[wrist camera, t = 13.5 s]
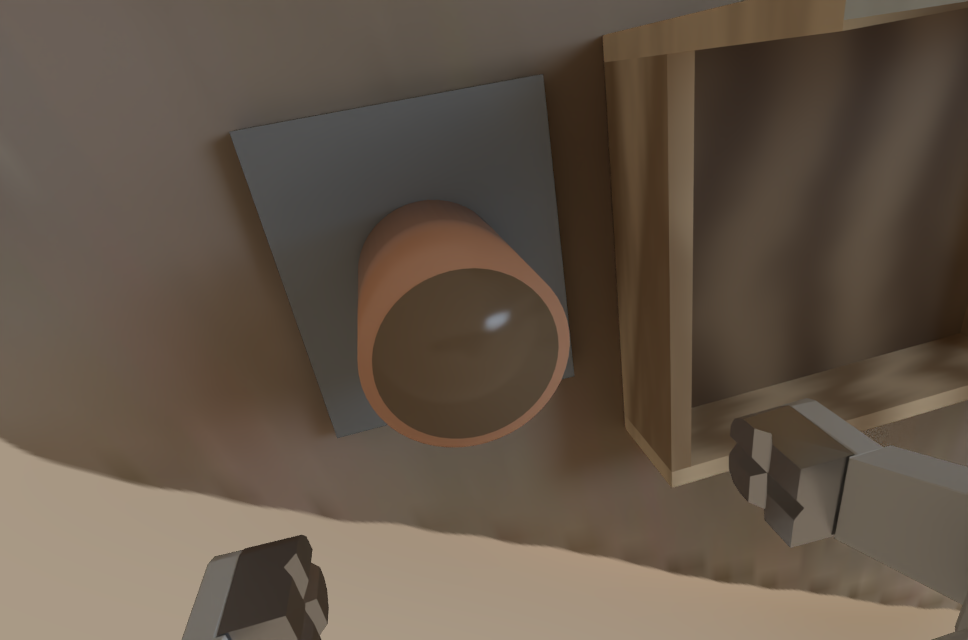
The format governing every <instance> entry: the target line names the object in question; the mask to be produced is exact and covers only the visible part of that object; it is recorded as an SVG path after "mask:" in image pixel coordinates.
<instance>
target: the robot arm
mask: <svg viewBox="0 0 968 640" xmlns="http://www.w3.org/2000/svg"><path fill="white" fill-rule="evenodd" d="M730 437H731V438H732V439H733V440H734V441H735V442H736V445H735V446H734V448H733V449H732V451H731V452H730V453H729V470H730V474H731V477H732V480H733V482H734V484H735V486H736V487H737V489H738V491H739V492H740V493H741V495H742V496H743V497H744V498H745V499H746V500H747V501H748V502H749V503H751V504H754V505H756V506H758V507H761V508H763V509H764V519H765V521H766V522H767V523H768V524H769V525H770V526H771V527H772V529H773V530H774V531H775V532H776V533H777V534H778V535H779V536H780V537H781V538H782V539H783V540H784V541H785V543H786V544H787V545H788V546H789V547H790V548H792V547H795V546H799V545H803V544H807V543H810V542H814V541H818V540H821V539H825V538H829V537H833V536H835V538H834V539H836V540H838V541H840V542H842V543H844V544H846V545H848V546H850V547H852V548H854V549H856V550H858V551H860V552H861V553H863V554H865V555H867V556H869V557H871V558H873V559H875V560H877V561H879V562H881V563H883V564H885V565H887V566H889V567H890V568H892V569H894V570H896V571H898V572H900V573H902V574H904V575H906V576H908V577H910V578H912V579H914V580H916V581H918V582H920V583H921V584H923V585H925V586H927V587H929V588H931V589H933V590H935V591H937V592H939V593H941V594H943V595H945V596H947V597H949V598H950V599H952V600H954V601H956V602H958V603H960V604H962V608H961V611H960V614H959V617H958V619H957V622H956V625H955V632H953V633H950V634H947V635H944V636H941V637H939V638H936V639H933V640H968V467H966V466H963V465H959V464H956V463H952V462H949V461H945V460H942V459H938V458H934V457H931V456H927V455H924V454H920V453H917V452H913V451H910V450H906V449H902V448H899V447H895V446H892V445H890V446H887V447H882V446H881V445H879V444H878V443H876V442H875V441H874V440H872V439H871V438H869V437H868V436H866V435H865V434H863V433H862V432H861V431H859V430H858V429H856V428H855V427H853V426H852V425H850V424H849V423H847V422H846V421H845V420H843V419H842V418H840V417H839V416H837V415H836V414H834V413H833V412H832V411H830V410H829V409H827V408H826V407H824V406H823V405H821V404H820V403H819V402H817V401H815V400H812V399H809V398H805V399H801V400H798V401H794V402H791V403H787V404H784V405H782V406H778V407H774V408H771V409H767V410H763V411H760V412H756V413H753V414H749V415H745V416H742V417H738V418H735V419H734V420H733V422H732V424H731V428H730ZM311 557H312V548H311V545H310V544H309V541H308V539H307V537H306V536H304V535H299V536H295V537H291V538H286V539H283V540H278V541H274V542H270V543H266V544H262V545H258V546H254V547H249V548H245V549H244V550H240V551H236V552H232V553H228V554H223V555H219V556H215V557H214V558H213V559H212V560H211V561H210V562H209V564H208V565H207V569H206V571H205V574H204V577H203V580H202V582H201V586H200V588H199V592H198V594H197V597H196V600H195V603H194V606H193V608H192V611H191V614H190V617H189V620H188V623H187V626H186V629H185V632H184V634H183V637H182V640H321V638H320V634H321V632H322V631H323V630H324V628H325V627H326V625H327V624H328V608H329V607H328V595H327V588H326V584H325V580H324V576H323V574H322V571H321V569H320V567H318V566H316V565H314V564H313V563H311Z"/></svg>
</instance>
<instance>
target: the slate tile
mask: <svg viewBox="0 0 968 640" xmlns="http://www.w3.org/2000/svg"><path fill="white" fill-rule="evenodd" d="M230 135H231V138H232V141H233V144H234V147H235V149H236V152H237V155H238V158H239V161H240V164H241V166H242V169H243V172H244V175H245V178H246V181H247V183H248V186H249V189H250V192H251V195H252V198H253V200H254V203H255V206H256V209H257V212H258V215H259V218H260V220H261V223H262V226H263V229H264V232H265V235H266V237H267V240H268V243H269V246H270V249H271V252H272V254H273V257H274V260H275V263H276V266H277V269H278V271H279V274H280V277H281V280H282V283H283V286H284V288H285V291H286V294H287V297H288V300H289V303H290V305H291V308H292V311H293V314H294V317H295V320H296V322H297V325H298V328H299V331H300V334H301V337H302V339H303V342H304V345H305V348H306V351H307V354H308V356H309V359H310V362H311V365H312V368H313V371H314V373H315V376H316V379H317V382H318V385H319V388H320V390H321V393H322V396H323V399H324V402H325V405H326V407H327V410H328V413H329V416H330V419H331V422H332V424H333V427H334V430H335V433H336V436H337V438H340V437H344V436H347V435H351V434H355V433H359V432H363V431H367V430H370V429H374V428H378V427H382V426H386V425H388V424H387V423H385V422H384V421H383V420H382V419H381V418H380V417H379V416H378V414H377V413H376V412H375V411H374V409H373V408H372V406H371V405H370V403H369V401H368V400H367V398H366V396H365V393H364V391H363V389H362V386H361V382H360V378H359V373H358V361H357V340H358V262H359V257H360V253H361V250H362V247H363V245H364V243H365V241H366V239H367V237H368V235H369V234H370V232H371V231H372V230H373V228H374V227H375V226H376V225H377V224H378V223H379V222H380V221H381V220H382V219H383V218H384V217H386V216H387V215H388V214H389V213H391V212H393V211H394V210H396V209H398V208H400V207H402V206H404V205H407V204H410V203H413V202H417V201H423V200H443V201H449V202H453V203H457V204H460V205H462V206H465V207H467V208H468V209H470V210H472V211H474V212H475V213H476V214H478V215H479V216H480V217H482V218H483V219H484V220H485V221H486V222H487V223H488V224H489V225H490V226H491V227H492V228H493V229H494V231H495V232H496V233H497V234H498V235H499V236H500V237H501V238H502V239H503V240H504V241H505V242H506V243H507V244H508V245H509V246H510V247H511V248H512V249H513V250H514V251H515V252H516V253H517V254H518V255H519V256H520V257H521V258H522V259H523V260H524V261H525V262H526V263H527V264H528V265H529V266H530V267H531V268H532V269H533V270H534V271H535V272H536V273H537V274H538V275H539V276H540V277H541V278H542V279H543V281H544V282H545V283H546V284H547V285H548V286H549V287H550V288H551V289H552V291H553V292H554V293H555V295H556V296H557V297H558V299H559V301H560V303H561V305H562V307H563V309H564V312H565V315H566V318H567V322H568V327H569V319H568V310H567V300H566V290H565V281H564V271H563V262H562V252H561V242H560V233H559V223H558V213H557V204H556V194H555V184H554V175H553V165H552V155H551V146H550V136H549V126H548V117H547V107H546V97H545V88H544V78H543V74H539V75H532V76H527V77H522V78H516V79H511V80H505V81H500V82H494V83H489V84H483V85H478V86H473V87H467V88H462V89H456V90H451V91H445V92H440V93H435V94H429V95H424V96H418V97H413V98H407V99H402V100H396V101H391V102H386V103H380V104H375V105H369V106H364V107H358V108H353V109H348V110H342V111H337V112H331V113H326V114H320V115H315V116H309V117H304V118H299V119H293V120H288V121H282V122H277V123H271V124H266V125H260V126H255V127H250V128H244V129H239V130H234V131H230ZM569 336H570V329H569ZM573 376H574V368H573V358H572V348H571V339H570V347H569V357H568V361H567V365H566V369H565V371H564V374H563V377H562V379H565V378H569V377H573Z"/></svg>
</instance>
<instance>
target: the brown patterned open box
mask: <svg viewBox="0 0 968 640" xmlns="http://www.w3.org/2000/svg"><path fill="white" fill-rule="evenodd" d="M603 52H604V70H605V87H606V105H607V122H608V139H609V157H610V174H611V191H612V209H613V226H614V243H615V261H616V278H617V296H618V313H619V330H620V348H621V365H622V382H623V400H624V417H625V429H626V430H627V432H628V433H629V434H630V435H631V437H632V438H633V439H634V441H635V442H636V443H637V444H638V446H639V447H640V448H641V449H642V451H643V452H644V453H645V454H646V456H647V457H648V458H649V460H650V461H651V462H652V463H653V465H654V466H655V467H656V468H657V470H658V471H659V472H660V474H661V475H662V476H663V477H664V479H665V480H666V481H667V482H668V484H669V485H670V486H671V488H674V487H677V486H680V485H684V484H687V483H690V482H694V481H697V480H700V479H704V478H707V477H711V476H714V475H717V474H721V473H724V472H727V471H730V470H729V453H730V452H731V451H732V449H733V448H734V446H735V445H736V442H735V441H734V440H733V439H732V438H731V437H730V428H731V424H732V422H733V420H734V419H735V418H738V417H742V416H745V415H749V414H753V413H756V412H760V411H763V410H767V409H771V408H774V407H778V406H782V405H784V404H787V403H791V402H794V401H798V400H801V399H805V398H809V399H812V400H815V401H817V402H819V403H820V404H821V405H823V406H824V407H826V408H827V409H829V410H830V411H832V412H833V413H834V414H836V415H837V416H839V417H840V418H842V419H843V420H845V421H846V422H847V423H849V424H850V425H852V426H853V427H855V428H856V429H858V430H859V431H861V432H862V431H865V430H868V429H872V428H875V427H879V426H882V425H885V424H889V423H892V422H895V421H899V420H902V419H905V418H909V417H912V416H915V415H919V414H922V413H926V412H929V411H932V410H936V409H939V408H942V407H946V406H949V405H952V404H956V403H959V402H963V401H966V400H968V0H745V1H741V2H737V3H733V4H729V5H725V6H721V7H717V8H713V9H708V10H704V11H700V12H696V13H692V14H688V15H684V16H680V17H676V18H672V19H668V20H663V21H659V22H655V23H651V24H647V25H643V26H639V27H635V28H631V29H627V30H622V31H618V32H614V33H610V34H606V35H603Z"/></svg>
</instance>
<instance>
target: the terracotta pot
mask: <svg viewBox="0 0 968 640" xmlns="http://www.w3.org/2000/svg"><path fill="white" fill-rule="evenodd" d="M569 347H570V336H569V327H568V322H567V318H566V315H565V312H564V309H563V307H562V305H561V303H560V301H559V299H558V297H557V296H556V295H555V293H554V292H553V291H552V289H551V288H550V287H549V286H548V285H547V284H546V283H545V282H544V281H543V279H542V278H541V277H540V276H539V275H538V274H537V273H536V272H535V271H534V270H533V269H532V268H531V267H530V266H529V265H528V264H527V263H526V262H525V261H524V260H523V259H522V258H521V257H520V256H519V255H518V254H517V253H516V252H515V251H514V250H513V249H512V248H511V247H510V246H509V245H508V244H507V243H506V242H505V241H504V240H503V239H502V238H501V237H500V236H499V235H498V234H497V233H496V232H495V231H494V229H493V228H492V227H491V226H490V225H489V224H488V223H487V222H486V221H485V220H484V219H483V218H482V217H480V216H479V215H478V214H476V213H475V212H474V211H472V210H470V209H468V208H467V207H465V206H462V205H460V204H457V203H453V202H449V201H443V200H423V201H417V202H413V203H410V204H407V205H404V206H402V207H400V208H398V209H396V210H394V211H393V212H391V213H389V214H388V215H387V216H386V217H384V218H383V219H382V220H381V221H380V222H379V223H378V224H377V225H376V226H375V227H374V228H373V230H372V231H371V232H370V234H369V235H368V237H367V239H366V241H365V243H364V245H363V247H362V250H361V253H360V257H359V262H358V340H357V361H358V373H359V378H360V382H361V386H362V389H363V391H364V393H365V396H366V398H367V400H368V401H369V403H370V405H371V406H372V408H373V409H374V411H375V412H376V413H377V414H378V416H379V417H380V418H381V419H382V420H383V421H384V422H385V423H387V424H388V425H389V426H390V427H391V428H393V429H394V430H396V431H397V432H399V433H400V434H402V435H404V436H406V437H408V438H410V439H413V440H415V441H418V442H421V443H424V444H429V445H433V446H441V447H466V446H474V445H478V444H483V443H487V442H490V441H493V440H496V439H498V438H501V437H503V436H505V435H507V434H509V433H511V432H513V431H514V430H516V429H518V428H519V427H521V426H522V425H524V424H525V423H526V422H528V421H529V420H530V419H532V418H533V417H534V416H535V415H536V414H537V413H538V412H539V411H540V410H541V409H542V408H543V407H544V406H545V404H546V403H547V402H548V401H549V400H550V398H551V397H552V395H553V394H554V392H555V391H556V389H557V387H558V385H559V383H560V381H561V379H562V377H563V374H564V371H565V369H566V365H567V361H568V357H569Z"/></svg>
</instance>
